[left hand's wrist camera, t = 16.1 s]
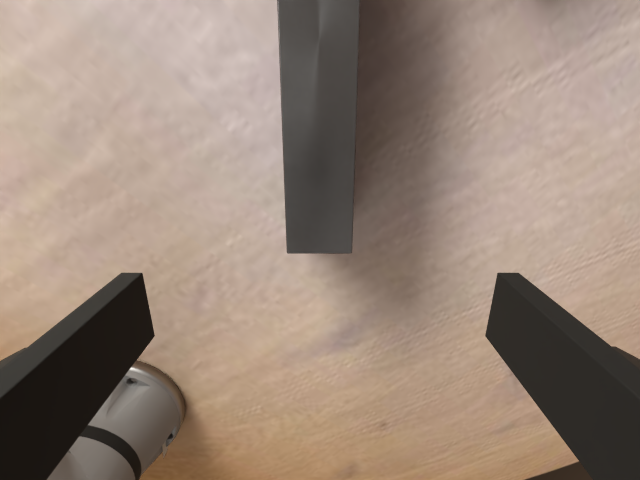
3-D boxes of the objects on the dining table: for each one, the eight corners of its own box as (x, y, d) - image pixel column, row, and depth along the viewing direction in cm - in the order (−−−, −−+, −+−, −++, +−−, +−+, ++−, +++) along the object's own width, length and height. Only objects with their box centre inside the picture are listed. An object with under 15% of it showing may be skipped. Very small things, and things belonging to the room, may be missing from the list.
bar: (344, 222, 38) (352, 253, 29) (294, 222, 38) (286, 253, 29) (353, -165, 27) (369, -298, 18) (283, -165, 27) (266, -298, 18)
